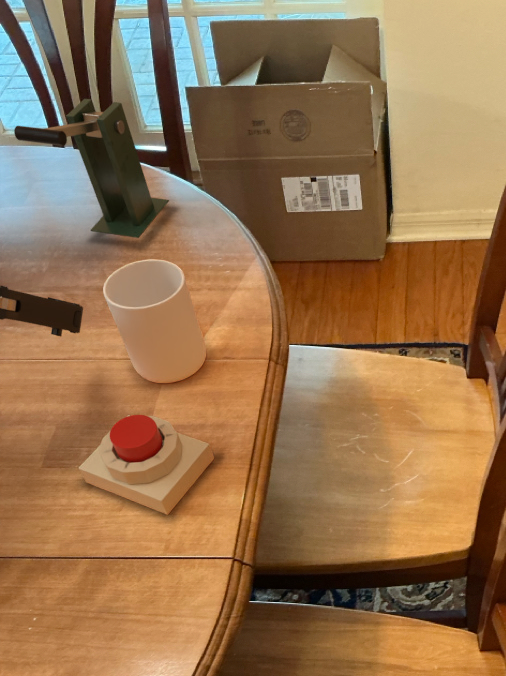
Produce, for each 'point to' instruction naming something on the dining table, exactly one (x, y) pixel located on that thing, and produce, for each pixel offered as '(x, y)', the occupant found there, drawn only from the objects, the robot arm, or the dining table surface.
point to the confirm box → (150, 469)
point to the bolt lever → (60, 131)
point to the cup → (156, 320)
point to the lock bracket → (115, 173)
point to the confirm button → (136, 438)
